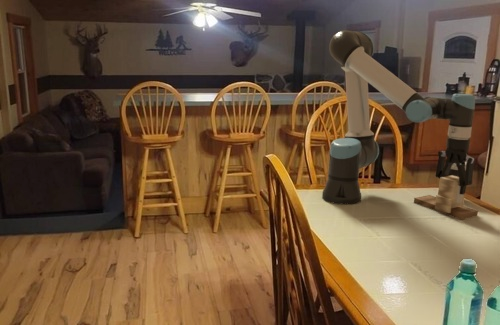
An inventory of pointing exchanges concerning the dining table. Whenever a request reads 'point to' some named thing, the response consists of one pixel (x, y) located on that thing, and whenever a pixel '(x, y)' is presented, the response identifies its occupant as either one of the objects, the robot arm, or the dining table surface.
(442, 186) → the tan block with peg
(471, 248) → the dining table surface
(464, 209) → the plank
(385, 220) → the dining table surface
